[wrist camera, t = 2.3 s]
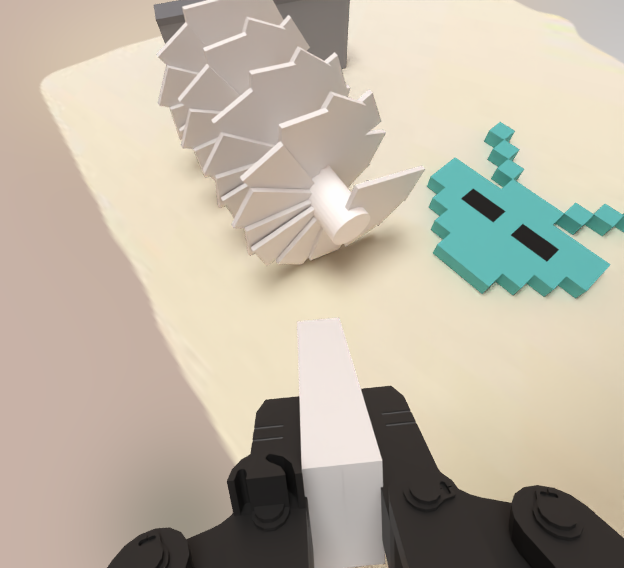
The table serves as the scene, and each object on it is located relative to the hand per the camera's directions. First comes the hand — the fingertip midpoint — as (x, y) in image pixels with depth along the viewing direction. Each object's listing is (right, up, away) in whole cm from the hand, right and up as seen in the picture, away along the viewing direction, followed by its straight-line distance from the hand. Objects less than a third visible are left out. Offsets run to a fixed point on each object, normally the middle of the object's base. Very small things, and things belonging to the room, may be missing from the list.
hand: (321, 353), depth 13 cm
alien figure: (+23, +9, +30) cm, 39 cm away
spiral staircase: (-3, +13, +32) cm, 35 cm away
